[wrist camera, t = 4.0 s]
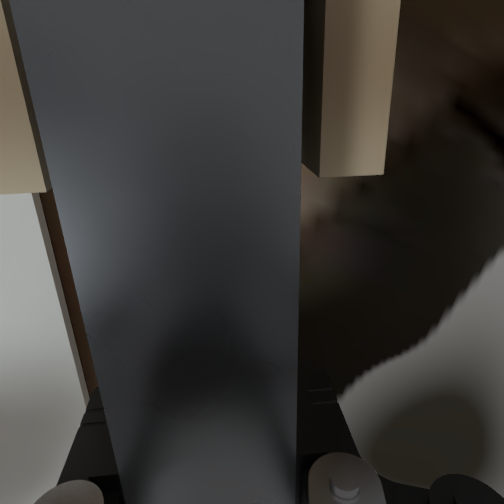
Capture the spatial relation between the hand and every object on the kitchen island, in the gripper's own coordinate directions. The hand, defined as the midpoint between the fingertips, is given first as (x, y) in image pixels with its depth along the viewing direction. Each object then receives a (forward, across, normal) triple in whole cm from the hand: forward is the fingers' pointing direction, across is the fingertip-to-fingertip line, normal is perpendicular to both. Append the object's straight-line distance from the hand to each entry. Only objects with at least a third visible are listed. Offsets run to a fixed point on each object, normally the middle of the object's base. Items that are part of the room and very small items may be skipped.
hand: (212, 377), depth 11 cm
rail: (-1, 0, 0) cm, 1 cm away
